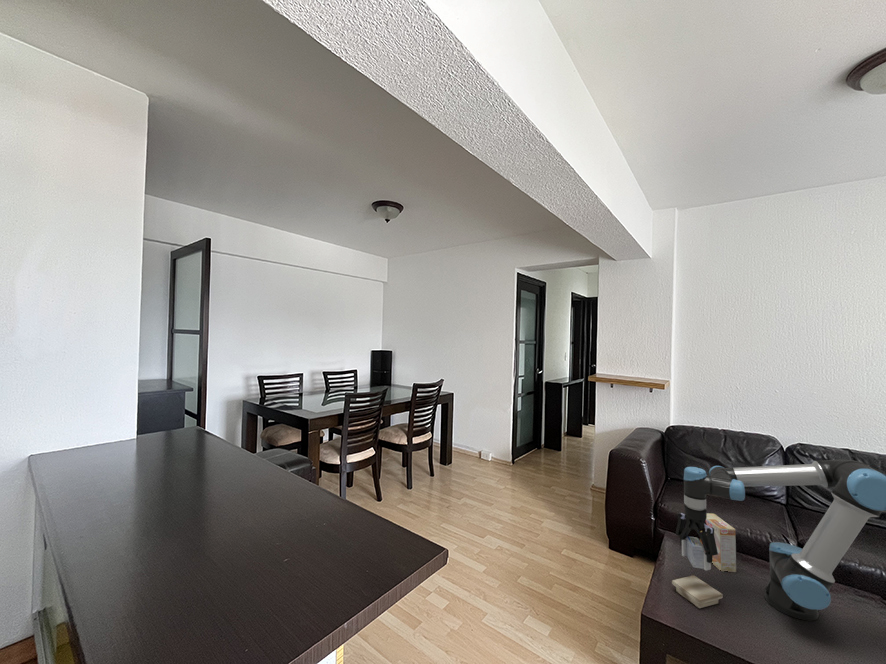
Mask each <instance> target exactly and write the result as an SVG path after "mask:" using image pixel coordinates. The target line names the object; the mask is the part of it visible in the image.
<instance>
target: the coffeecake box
mask: <svg viewBox="0 0 886 664" xmlns="http://www.w3.org/2000/svg"><path fill="white" fill-rule="evenodd" d="M706 524H707V526H709V527H710V528H711V527H713V528H714V537H715V542H716V547H717V552H718V555H713V556H712V563H713V566H715V567H716V568H717V570H719V571H720V570H721V571H720V572H724V571H728V572H730V573H737V543H736V528H734V527H733V526H732V525H730V524H729V523H727V522H726V521H724V520H723V519H722V518H721V517H719V516H718V515H717V514H716V513H709V512H708V513H707V518H706ZM705 530H706V529H705ZM700 532H702V531H700ZM699 540H700V542H701V539H700V538H699ZM701 543H702V542H701ZM702 545H703V544H702ZM712 563H711V564H712Z"/></svg>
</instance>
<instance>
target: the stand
mask: <svg viewBox="0 0 886 664" xmlns="http://www.w3.org/2000/svg"><path fill="white" fill-rule="evenodd" d="M671 585H673V586H674V587H675V589H676V590H675V591H676V593H678V594H679V595H681V596H682V597H683V598H684V599H686V600H687V601H688V602H690V603H692V604H693V605H695V607H697V608H698V609H703V608H706V607H710V606H713V605H717V604H719V600H721V599H723V593H722V592H720V591H718V590H717V589H716V588H713V586H711V585H709V584H708V583H707V582H705V581H703V580H702V579H700V578H699V577H697V576H695V575H694V574H693V575H688V576H686V577H681V578H676V579H672V580H671Z"/></svg>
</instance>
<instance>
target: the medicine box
mask: <svg viewBox="0 0 886 664" xmlns="http://www.w3.org/2000/svg"><path fill="white" fill-rule="evenodd" d="M685 539H686V544H687V556H686V557H687V559H688V560H689V562H690V564H691V566H692V568H696V569H702V570H704V553H705V549H704V547H703V545H702V543H701V542H700V538H698V537H694V536H689V535H688V536H687V537H686V538H685Z"/></svg>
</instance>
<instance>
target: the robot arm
mask: <svg viewBox="0 0 886 664" xmlns="http://www.w3.org/2000/svg"><path fill="white" fill-rule="evenodd" d="M779 486H780V487H782V486H783V487H786V486H787V487H788V486H790V487H792V486H821V487H823V488H829V489H830V488H832V490H831V492H830V493H831V495H832V497H833V501H832V503H831V504H830V505H829V507H828V509H827V510H826V511H825V513H824V515H823V516H822V518H821V519H820V521H819V523H818V525H816V527H815V528H814V530H813V532H812V533H811V535H810V536H809V539H807V541H806V543H805V544H804V546H803V548H801V547H799V546H796V545H793V544H790V543H786V542H778V541H772V542H771V543H769V549H768V551H769V580H768V583H767V585H766V587H765V588H764V589H765V590H764V599H765V601H766V602H767V603H768V604H769V605H770V606H771V607H772V608H774V609H775V610H777V611H778V612H779V611H780V612H781V613H783V614H785V615H787V616H789V617H792V618H795V619H799V620H803V621H808V622H809V621H816V620H818V619H819V610H824V609H827V608H828V607H829V606H830V604H831V602H832V596H831V593H830V590H831V588H832V587H833V585H834V584H835V582H836V580H835V578H834V576H833V572H834V571H835V569H836V568H837V566H838V565H839V564H840V562H841V561H842V559H843V557H844V556H845V555H846V553H847V551H848V550H849V548H850V547H851V545H852V544H853V542H854V541H855V540H856V538H857V536H858V535H859V534H860V532H861V531H862V529H863V527H864V526H865V525H866V523H867V522H868V521H869V519H870V518H879V517H880V516H881V514H882V513H883V511H886V475H885V473H881V472H880V471H878V470H877V469H874V468H873V467H871V466H870V465H868V464H866V463H864V462H861V461H858V460H853V459H828V460H814V461H813V462H812V463H805V464H786V465H785V464H784V465H763V466H745V467H741V466H739V467H723V466H721V465H714V466H712V467H710V468H709V472H708V474H707V471H706V470H705V469H703V468H699V467H696V466H687V467H685V468H684V469H683V503H684V505H683V506H684V507H683V509H684V511H683V512H679V513H677V517H678V518H677V525H676V529H675V535H676V536H678V537H679V543H680V544H679V545H680V547H681V556H682V557H687V544H686V537H687V536H689V534H690V532H691V531H692V530H694V531H695V532H696V533H697V535H698V537H699V540H700V539H701V542H702V544H703V547H704V549H705V553H704V569H703V570H704V571H710V570H711V569H712V565H711V564H712V556H713V555H718V552H717V547H716V542H715V537H714V528H713V527H711V528H710V527H709V526H707V524H706V518H707V495H708V496H712V497H717V498H722V499H729V500H732V501H744V500H745V499H746V498H745V497H746V489H745V488H746V487H748V488H749V487H750V488H751V487H779ZM705 529H706V530H705ZM700 531H702V532H700Z"/></svg>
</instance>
